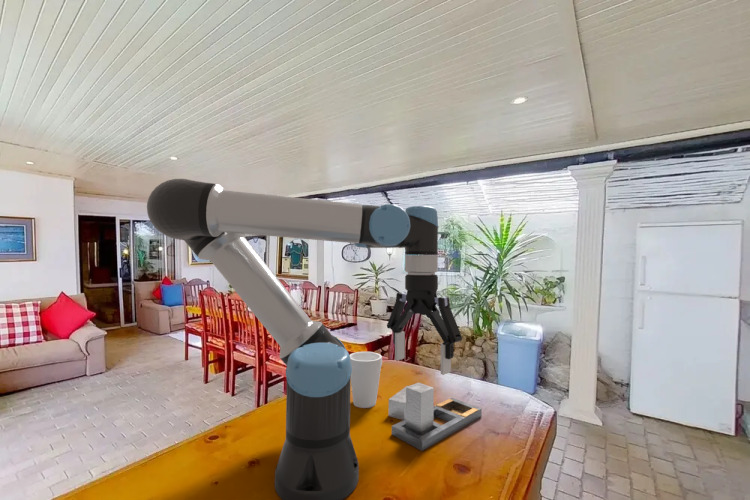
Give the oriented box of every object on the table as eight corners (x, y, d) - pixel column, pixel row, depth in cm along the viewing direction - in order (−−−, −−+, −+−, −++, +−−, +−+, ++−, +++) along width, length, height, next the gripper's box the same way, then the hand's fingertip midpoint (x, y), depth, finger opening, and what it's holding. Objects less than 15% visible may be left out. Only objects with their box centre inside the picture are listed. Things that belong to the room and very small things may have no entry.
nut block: (404, 421, 86) (404, 403, 86) (388, 416, 88) (388, 399, 89) (421, 405, 96) (421, 389, 96) (406, 401, 98) (407, 385, 98)
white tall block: (420, 443, 76) (421, 392, 76) (405, 435, 79) (406, 387, 79) (433, 436, 79) (433, 387, 79) (418, 428, 82) (418, 382, 82)
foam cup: (382, 397, 100) (383, 352, 100) (380, 411, 91) (380, 362, 91) (350, 395, 101) (351, 351, 101) (344, 409, 92) (345, 360, 92)
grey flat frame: (422, 451, 73) (422, 440, 73) (391, 434, 79) (391, 425, 79) (481, 416, 89) (481, 407, 89) (452, 405, 95) (452, 397, 95)
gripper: (478, 275, 73) (478, 375, 73) (394, 271, 91) (393, 351, 91) (458, 276, 68) (458, 384, 68) (373, 272, 86) (372, 357, 86)
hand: (421, 365), depth 79 cm, fingers open, 13 cm apart
